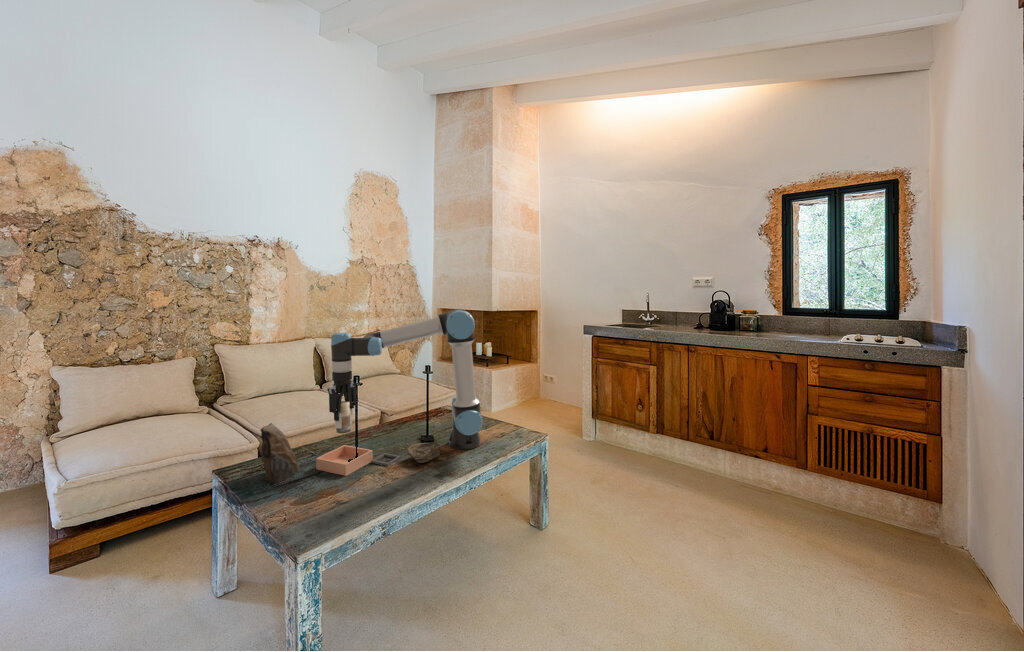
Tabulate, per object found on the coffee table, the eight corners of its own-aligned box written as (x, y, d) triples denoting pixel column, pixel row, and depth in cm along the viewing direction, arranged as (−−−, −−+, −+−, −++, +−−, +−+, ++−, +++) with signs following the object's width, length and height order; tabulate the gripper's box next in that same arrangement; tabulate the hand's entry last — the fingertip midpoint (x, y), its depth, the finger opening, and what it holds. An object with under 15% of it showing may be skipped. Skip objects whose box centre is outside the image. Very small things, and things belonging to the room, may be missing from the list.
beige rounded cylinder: (353, 429, 175) (353, 401, 174) (343, 434, 170) (343, 405, 169) (343, 427, 177) (342, 400, 176) (333, 432, 172) (332, 403, 171)
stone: (412, 461, 171) (409, 438, 177) (406, 470, 178) (404, 447, 184) (443, 458, 177) (440, 436, 183) (437, 467, 184) (434, 445, 190)
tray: (372, 460, 179) (372, 450, 179) (346, 475, 165) (345, 464, 165) (344, 454, 185) (344, 444, 185) (316, 469, 171) (315, 458, 170)
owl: (273, 485, 157) (271, 434, 155) (249, 480, 161) (246, 429, 159) (301, 471, 169) (299, 423, 167) (277, 466, 173) (275, 419, 171)
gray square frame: (400, 458, 182) (400, 456, 182) (387, 466, 174) (387, 463, 174) (384, 455, 185) (384, 453, 185) (371, 462, 177) (371, 460, 177)
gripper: (350, 366, 181) (352, 418, 183) (317, 374, 164) (319, 431, 167) (364, 367, 178) (365, 420, 180) (332, 375, 162) (334, 434, 164)
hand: (343, 425), depth 173 cm, fingers closed on beige rounded cylinder, 5 cm apart
